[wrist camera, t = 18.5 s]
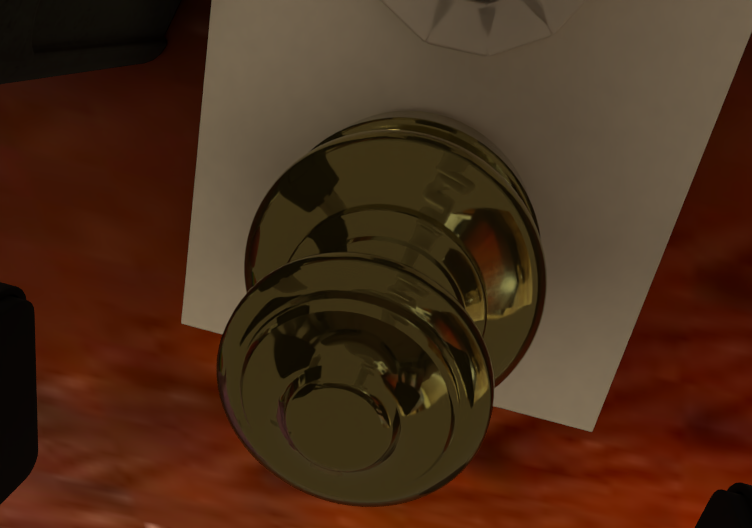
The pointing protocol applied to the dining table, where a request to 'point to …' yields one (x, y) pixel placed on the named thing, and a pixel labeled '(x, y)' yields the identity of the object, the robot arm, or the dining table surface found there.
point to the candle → (79, 35)
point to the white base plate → (495, 121)
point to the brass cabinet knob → (382, 309)
